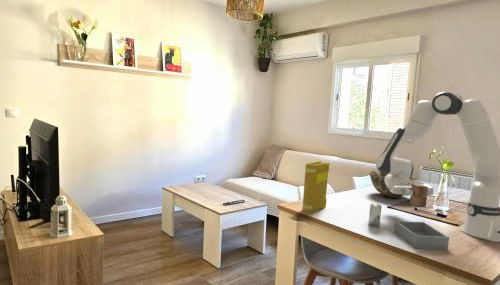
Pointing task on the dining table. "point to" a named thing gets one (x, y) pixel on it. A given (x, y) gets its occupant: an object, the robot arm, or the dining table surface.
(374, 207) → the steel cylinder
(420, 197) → the walnut block
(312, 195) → the book
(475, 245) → the dining table surface
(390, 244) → the dining table surface
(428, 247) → the tote
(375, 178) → the bowl
